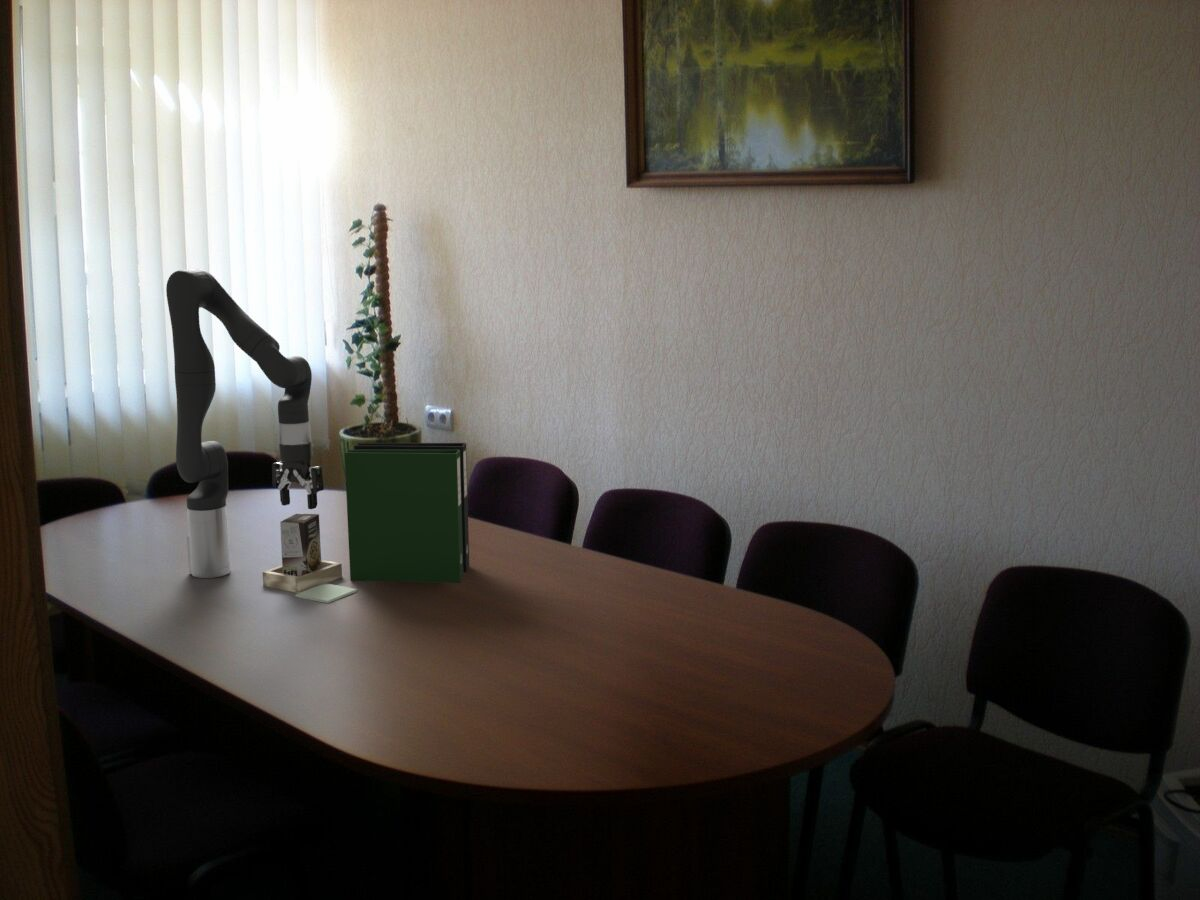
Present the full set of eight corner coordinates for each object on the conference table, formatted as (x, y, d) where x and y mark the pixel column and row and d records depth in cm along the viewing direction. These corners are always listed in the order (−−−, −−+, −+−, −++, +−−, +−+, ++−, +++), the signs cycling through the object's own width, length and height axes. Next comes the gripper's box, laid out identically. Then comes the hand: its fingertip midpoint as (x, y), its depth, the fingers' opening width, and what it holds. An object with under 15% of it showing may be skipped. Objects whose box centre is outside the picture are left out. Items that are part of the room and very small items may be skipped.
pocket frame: (263, 585, 286) (262, 572, 285) (306, 570, 298) (305, 557, 298) (299, 593, 280) (299, 578, 279) (342, 576, 293) (341, 563, 292)
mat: (295, 596, 277) (295, 594, 277) (324, 585, 286) (324, 583, 286) (328, 603, 272) (327, 600, 272) (356, 591, 281) (356, 589, 281)
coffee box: (307, 587, 284) (303, 522, 281) (282, 586, 285) (278, 521, 282) (323, 576, 293) (320, 513, 290) (299, 575, 294) (295, 512, 291)
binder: (349, 581, 289) (343, 453, 283) (364, 564, 303) (359, 441, 297) (460, 583, 287) (456, 453, 281) (469, 565, 302) (466, 442, 296)
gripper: (261, 441, 283) (266, 507, 286) (306, 445, 276) (310, 513, 279) (284, 436, 289) (288, 500, 292) (328, 440, 282) (332, 506, 285)
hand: (299, 506), depth 285 cm, fingers open, 8 cm apart
